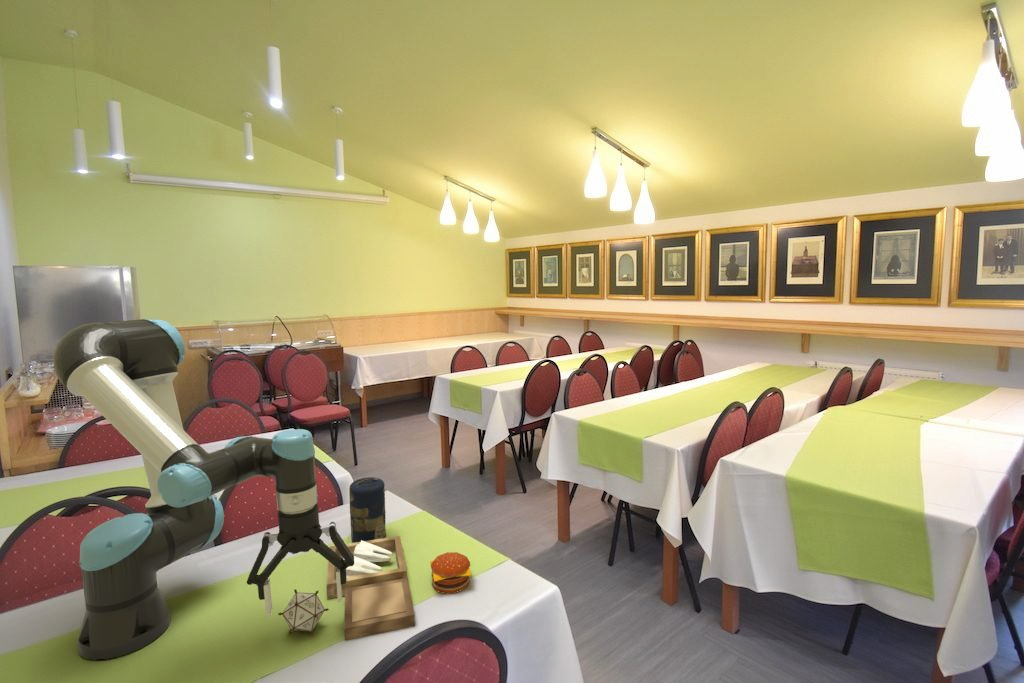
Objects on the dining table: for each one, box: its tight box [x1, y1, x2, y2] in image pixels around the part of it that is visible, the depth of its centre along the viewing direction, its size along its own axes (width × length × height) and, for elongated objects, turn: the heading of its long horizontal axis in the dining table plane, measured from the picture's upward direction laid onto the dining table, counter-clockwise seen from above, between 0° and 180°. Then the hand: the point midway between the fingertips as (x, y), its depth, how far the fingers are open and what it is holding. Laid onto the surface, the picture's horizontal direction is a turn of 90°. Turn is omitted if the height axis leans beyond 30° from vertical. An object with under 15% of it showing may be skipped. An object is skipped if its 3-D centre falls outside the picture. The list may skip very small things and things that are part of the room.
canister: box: [348, 477, 387, 543], centre depth 140 cm, size 10×10×18 cm
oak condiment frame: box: [326, 535, 408, 600], centre depth 126 cm, size 18×18×4 cm
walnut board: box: [343, 577, 416, 641], centre depth 110 cm, size 14×14×3 cm
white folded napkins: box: [344, 540, 394, 578], centre depth 126 cm, size 12×4×11 cm
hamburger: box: [429, 551, 472, 594], centre depth 121 cm, size 9×10×7 cm
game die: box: [277, 588, 330, 636], centre depth 105 cm, size 9×8×10 cm
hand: (305, 605), depth 104 cm, fingers open, 13 cm apart
